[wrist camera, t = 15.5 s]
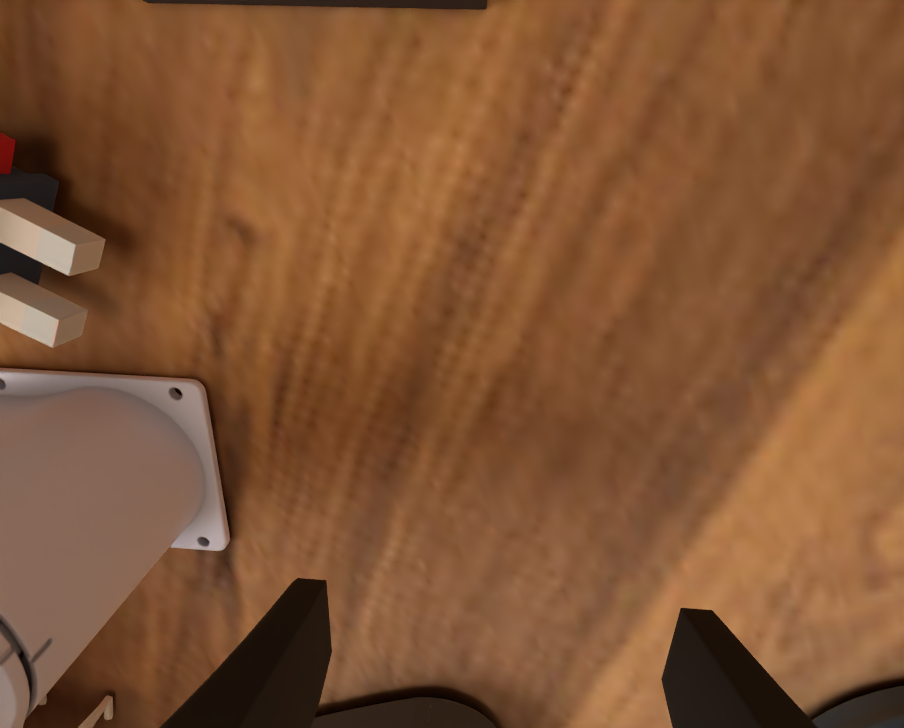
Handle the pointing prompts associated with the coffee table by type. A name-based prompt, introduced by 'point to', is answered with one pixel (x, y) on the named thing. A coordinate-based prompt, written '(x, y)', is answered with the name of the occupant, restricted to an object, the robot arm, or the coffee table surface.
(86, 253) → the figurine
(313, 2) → the stand
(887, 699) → the canister
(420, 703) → the media streaming box
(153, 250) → the coffee table surface
